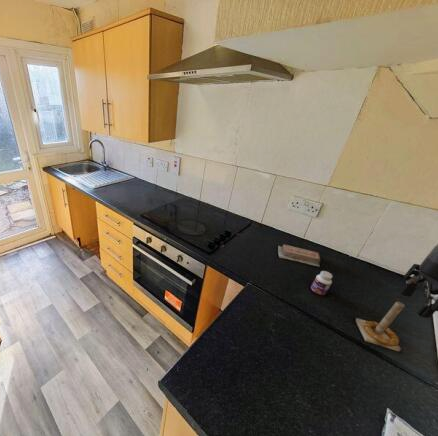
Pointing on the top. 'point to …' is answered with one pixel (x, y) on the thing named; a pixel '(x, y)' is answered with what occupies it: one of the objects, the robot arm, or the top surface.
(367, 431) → the top surface
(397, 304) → the wooden peg stand
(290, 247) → the packaged product
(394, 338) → the ring
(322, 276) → the pill bottle
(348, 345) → the top surface
